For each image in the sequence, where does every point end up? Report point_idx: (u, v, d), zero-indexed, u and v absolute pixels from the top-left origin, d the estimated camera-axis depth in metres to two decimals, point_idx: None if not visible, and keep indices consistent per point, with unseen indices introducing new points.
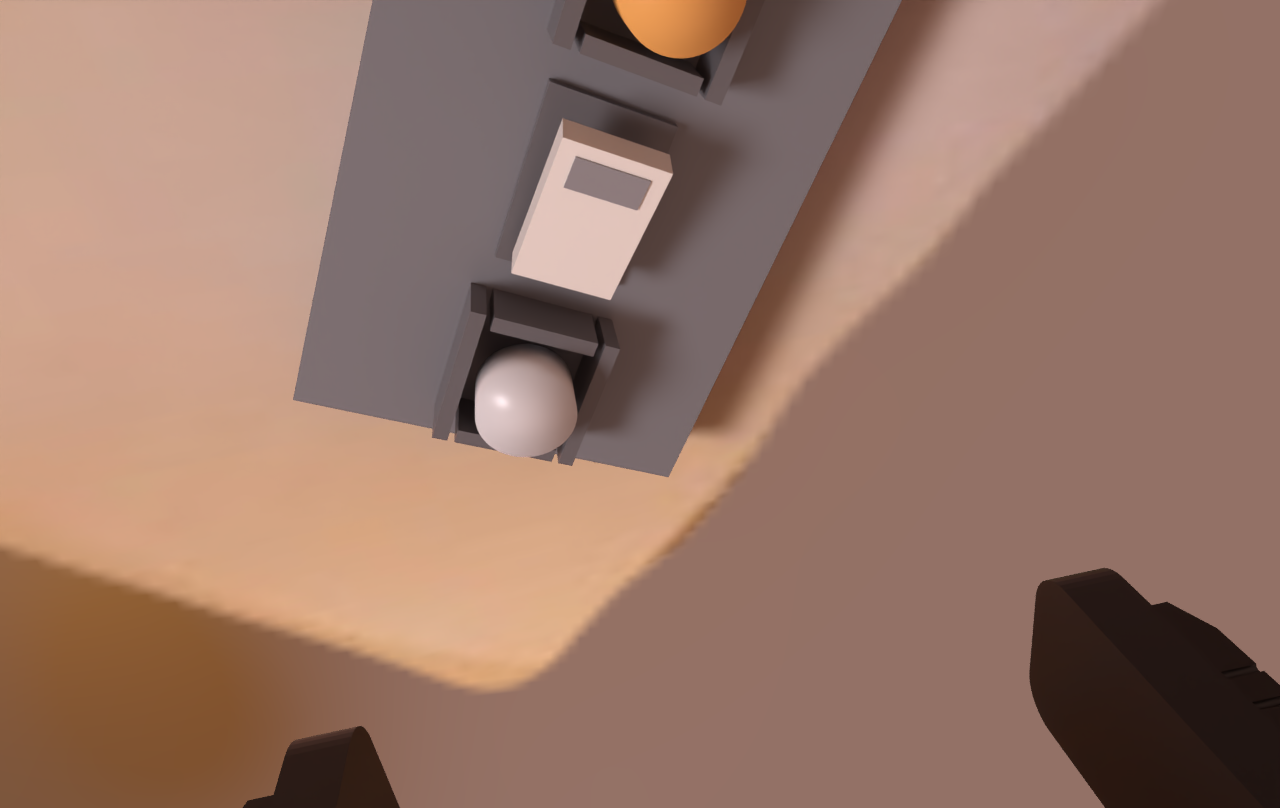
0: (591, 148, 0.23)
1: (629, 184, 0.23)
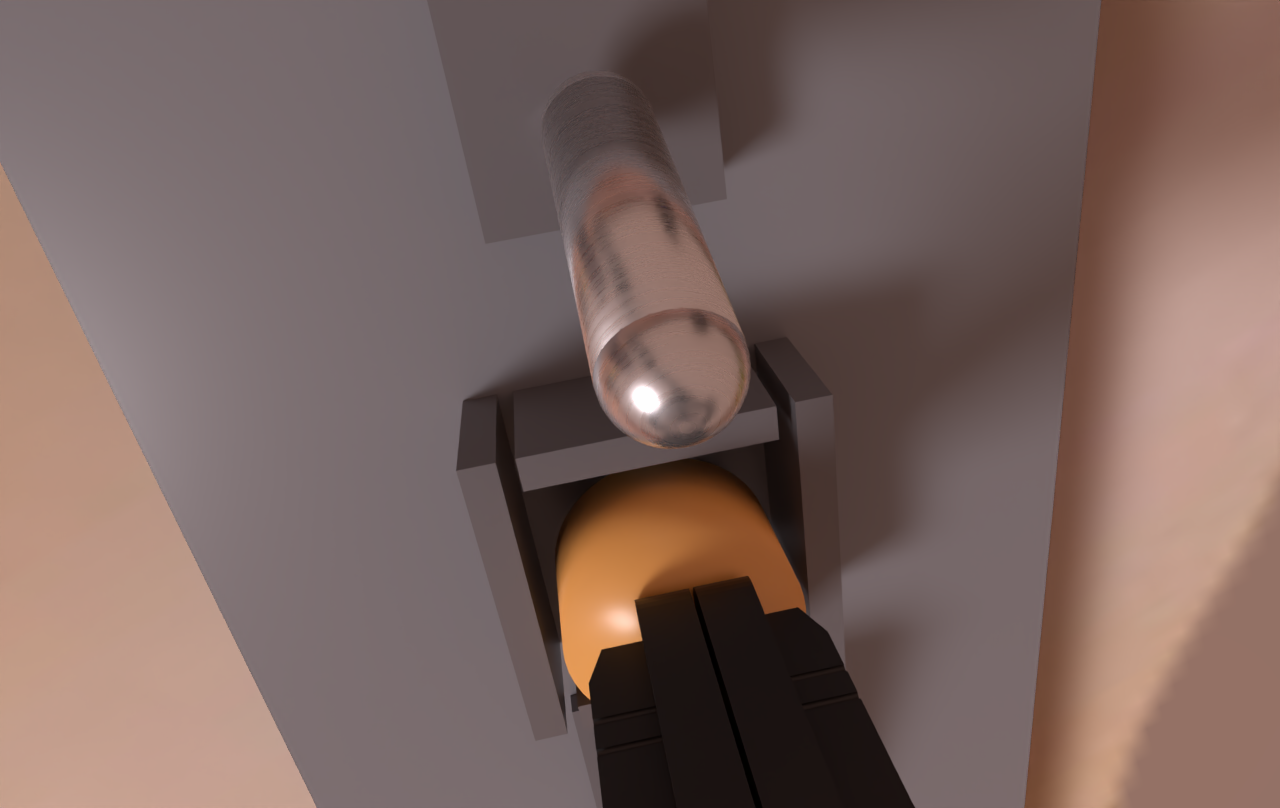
0: None
1: None
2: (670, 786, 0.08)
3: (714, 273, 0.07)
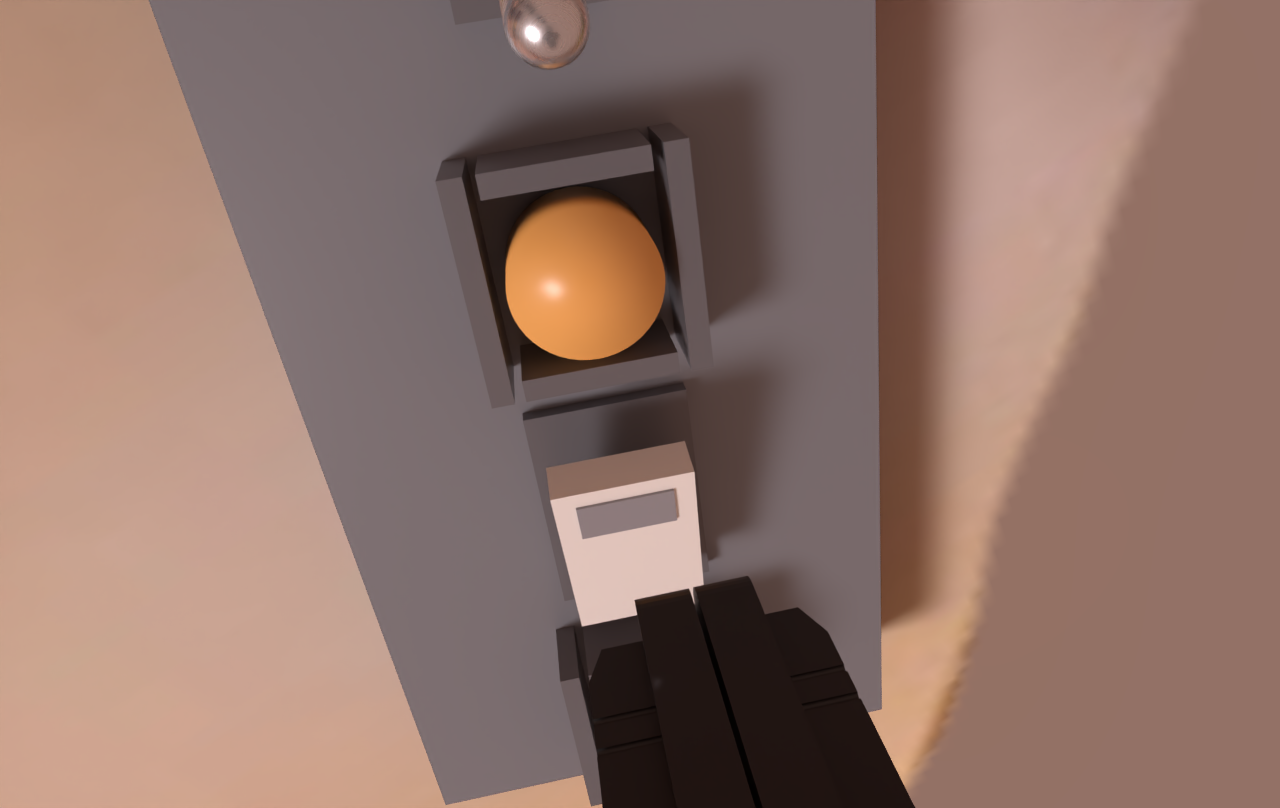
0: (587, 494, 0.18)
1: (651, 503, 0.19)
2: (670, 786, 0.08)
3: None
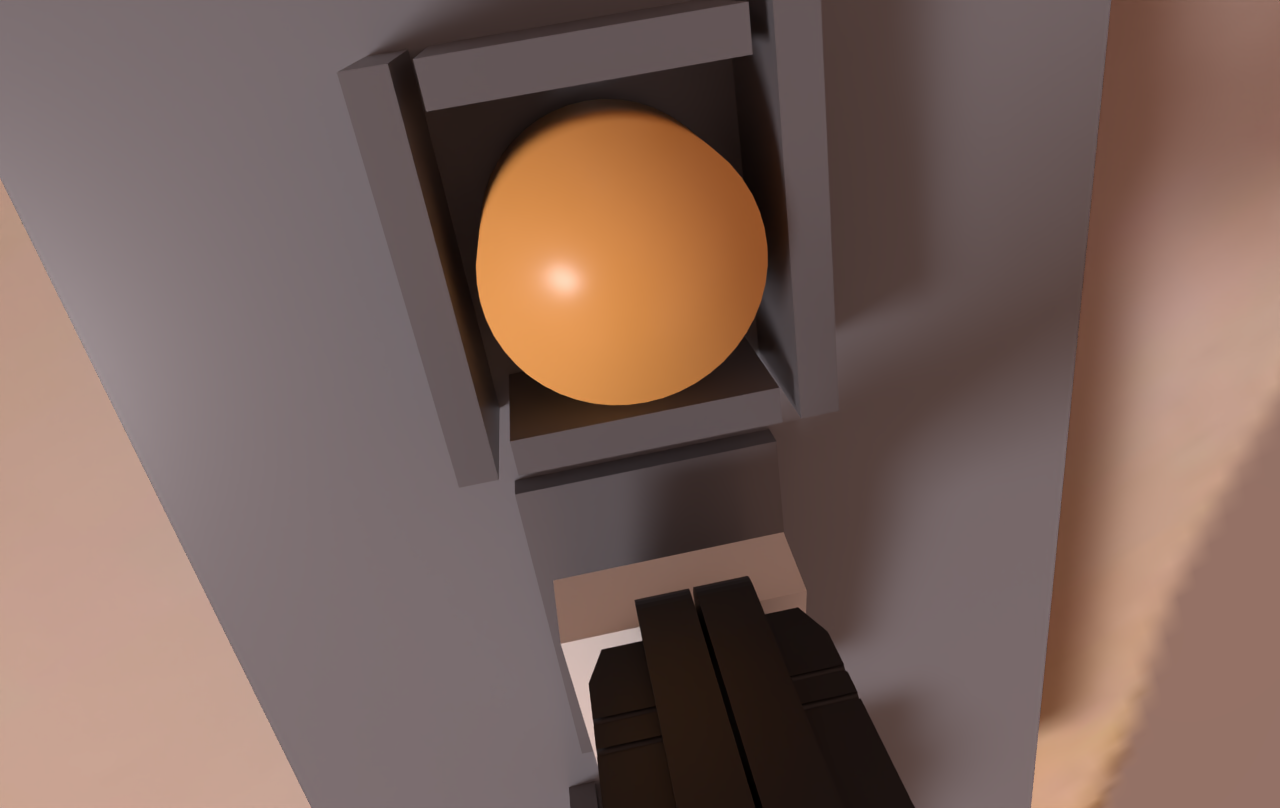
0: (624, 632, 0.11)
1: None
2: (670, 786, 0.08)
3: None
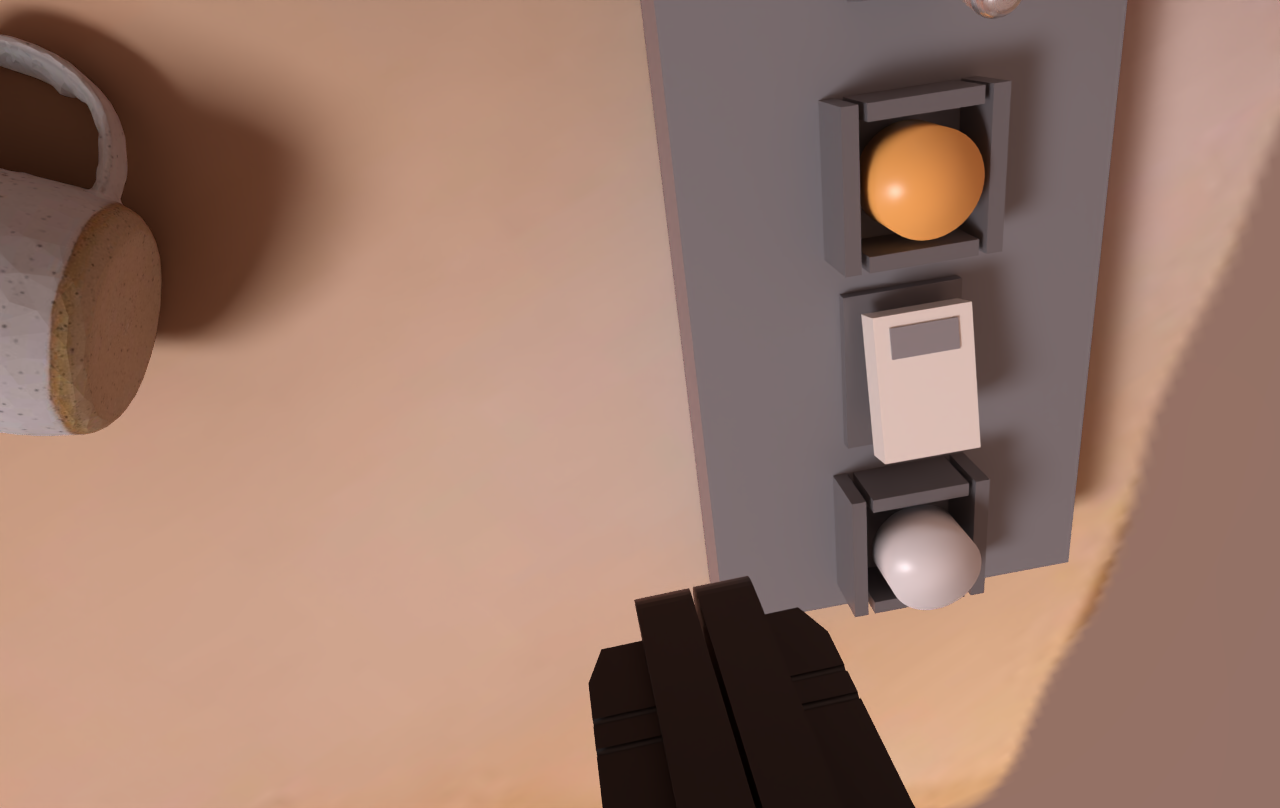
0: (898, 315, 0.26)
1: (942, 328, 0.26)
2: (670, 786, 0.08)
3: None
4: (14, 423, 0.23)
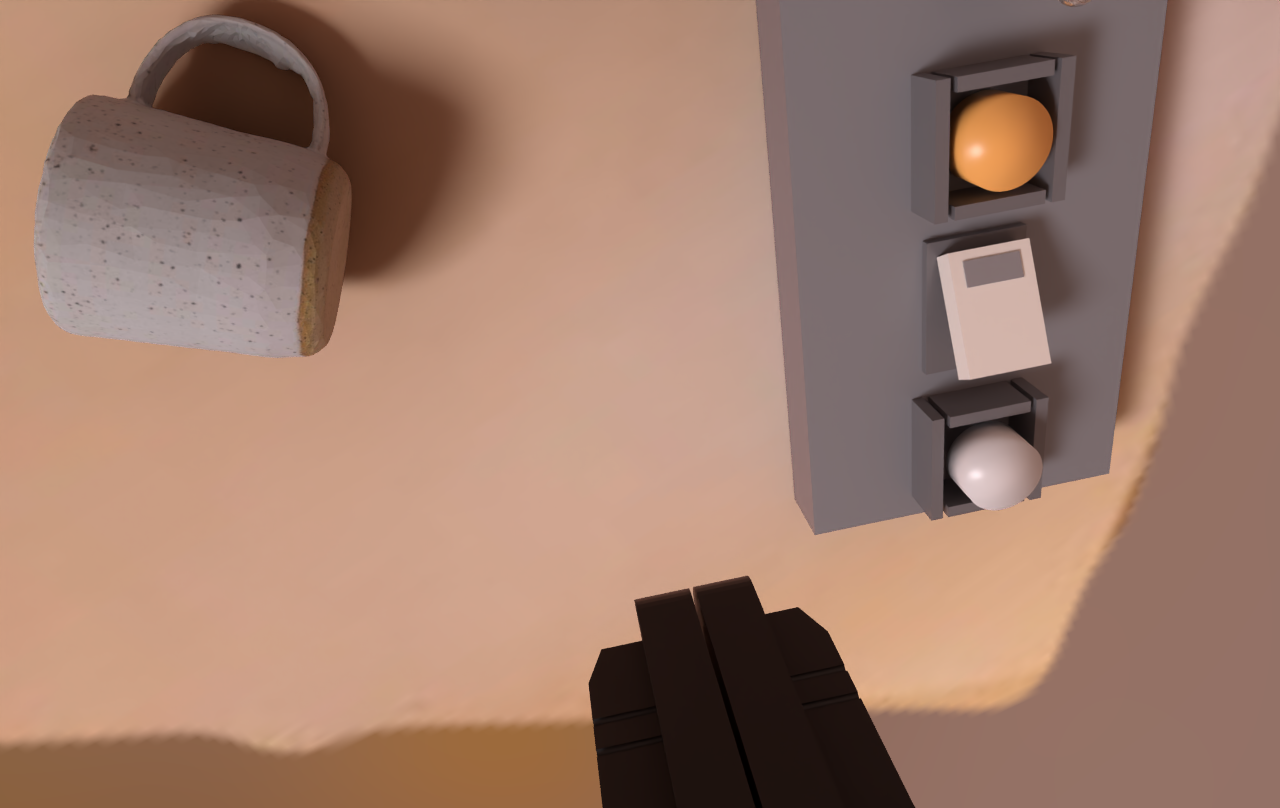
0: (968, 250, 0.32)
1: (1007, 260, 0.32)
2: (671, 786, 0.08)
3: None
4: (263, 344, 0.28)
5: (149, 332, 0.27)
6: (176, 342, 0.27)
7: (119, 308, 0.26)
